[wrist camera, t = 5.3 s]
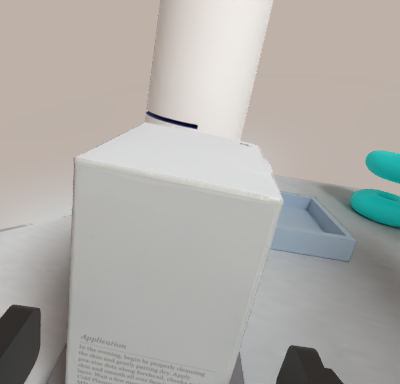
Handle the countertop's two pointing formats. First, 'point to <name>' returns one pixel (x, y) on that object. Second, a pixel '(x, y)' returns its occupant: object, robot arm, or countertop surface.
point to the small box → (166, 256)
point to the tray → (311, 229)
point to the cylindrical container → (206, 64)
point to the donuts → (379, 200)
